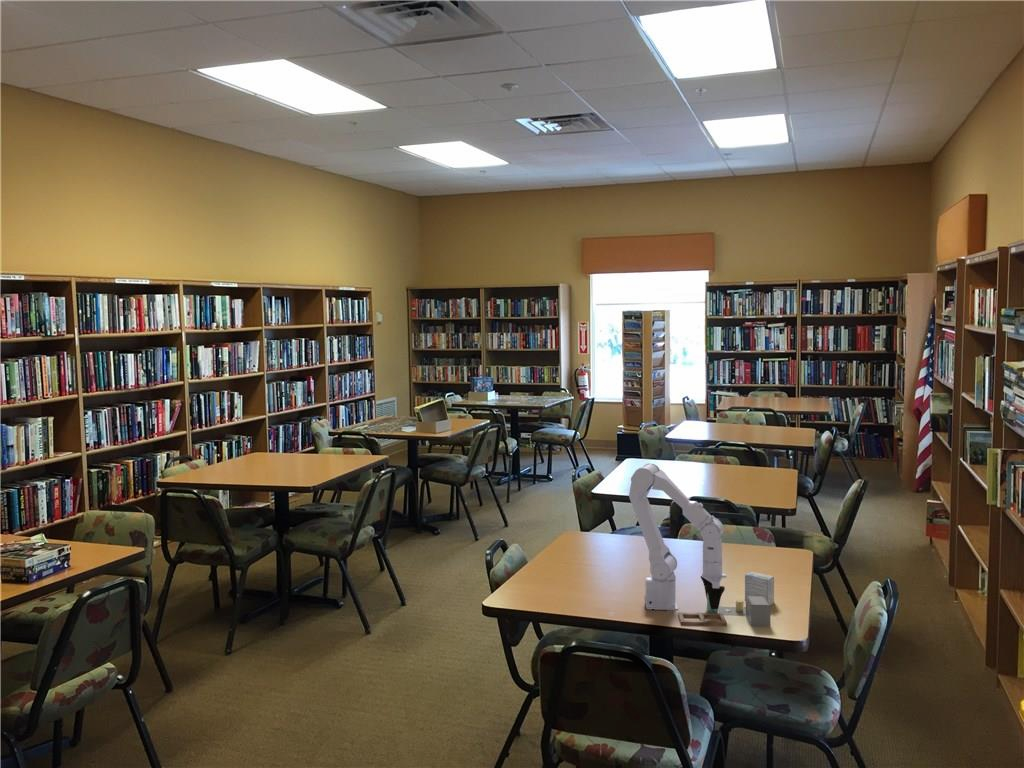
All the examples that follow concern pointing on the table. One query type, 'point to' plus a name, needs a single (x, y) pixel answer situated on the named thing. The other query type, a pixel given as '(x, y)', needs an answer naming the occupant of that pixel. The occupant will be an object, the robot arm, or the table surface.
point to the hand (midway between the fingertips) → (712, 604)
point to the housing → (758, 611)
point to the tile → (734, 609)
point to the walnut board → (702, 619)
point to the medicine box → (759, 586)
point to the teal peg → (710, 607)
